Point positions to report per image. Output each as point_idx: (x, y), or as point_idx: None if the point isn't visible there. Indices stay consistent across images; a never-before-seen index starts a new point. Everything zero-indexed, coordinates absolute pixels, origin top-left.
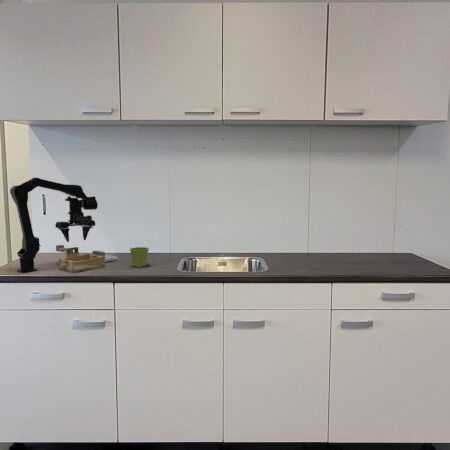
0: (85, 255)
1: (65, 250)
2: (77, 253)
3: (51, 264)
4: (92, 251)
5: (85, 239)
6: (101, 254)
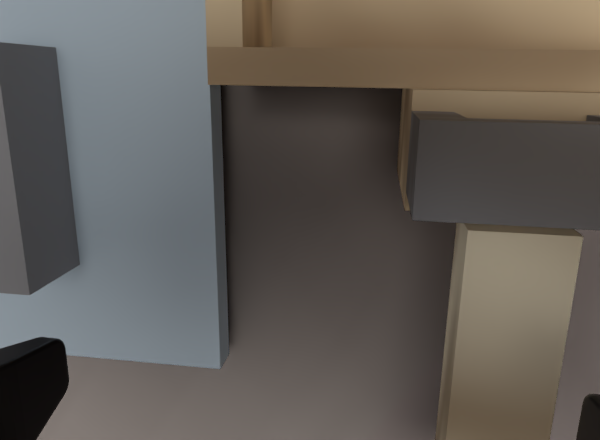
0: (306, 49)
1: (555, 348)
2: (449, 91)
3: (557, 435)
4: (34, 290)
5: (37, 341)
6: (17, 47)
